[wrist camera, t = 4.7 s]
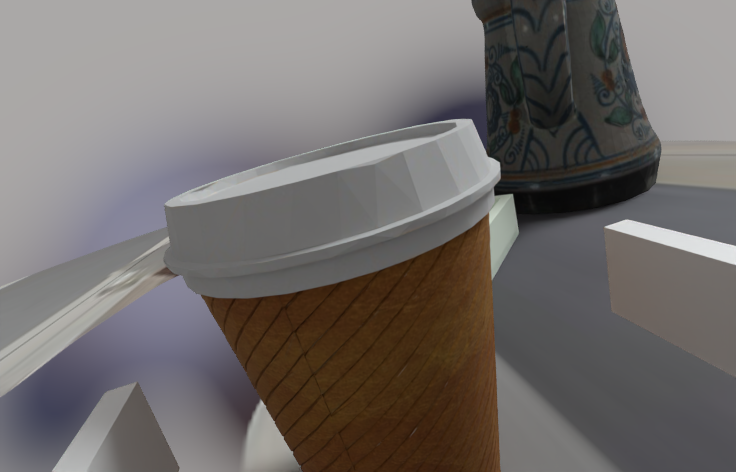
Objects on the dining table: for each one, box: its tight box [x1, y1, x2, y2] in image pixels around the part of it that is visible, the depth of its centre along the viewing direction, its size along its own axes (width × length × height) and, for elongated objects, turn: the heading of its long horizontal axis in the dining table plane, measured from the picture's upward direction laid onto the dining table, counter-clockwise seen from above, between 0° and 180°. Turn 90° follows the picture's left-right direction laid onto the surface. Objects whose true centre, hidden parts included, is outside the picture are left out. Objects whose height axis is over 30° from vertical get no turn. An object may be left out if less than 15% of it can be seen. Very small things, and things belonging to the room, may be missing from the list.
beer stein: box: [472, 0, 661, 214], centre depth 39 cm, size 17×19×25 cm
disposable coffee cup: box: [163, 119, 501, 472], centre depth 14 cm, size 10×10×12 cm
